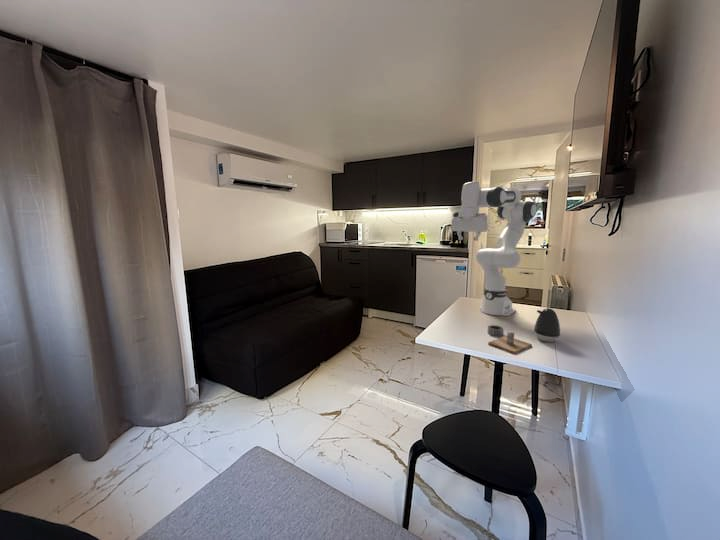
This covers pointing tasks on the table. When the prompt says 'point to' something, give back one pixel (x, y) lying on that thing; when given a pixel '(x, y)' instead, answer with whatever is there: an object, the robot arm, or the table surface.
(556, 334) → the black rounded piece
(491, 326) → the ring
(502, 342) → the piston stand
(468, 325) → the table surface
